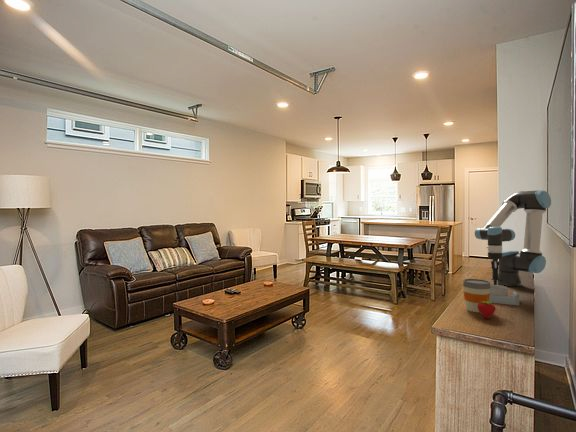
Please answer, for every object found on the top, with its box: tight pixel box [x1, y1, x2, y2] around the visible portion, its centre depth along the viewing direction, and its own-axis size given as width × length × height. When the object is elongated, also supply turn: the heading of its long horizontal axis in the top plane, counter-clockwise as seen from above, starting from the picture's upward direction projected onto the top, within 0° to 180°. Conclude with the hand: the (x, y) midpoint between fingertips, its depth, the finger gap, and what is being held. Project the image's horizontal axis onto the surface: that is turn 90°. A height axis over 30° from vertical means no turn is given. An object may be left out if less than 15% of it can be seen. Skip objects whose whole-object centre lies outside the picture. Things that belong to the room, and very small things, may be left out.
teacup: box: [489, 284, 509, 297], centre depth 193 cm, size 14×11×8 cm
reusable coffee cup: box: [462, 278, 491, 313], centre depth 173 cm, size 12×13×15 cm
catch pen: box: [489, 291, 520, 306], centre depth 192 cm, size 15×21×5 cm
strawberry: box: [477, 298, 496, 320], centre depth 159 cm, size 6×8×10 cm
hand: (495, 290), depth 204 cm, fingers closed
